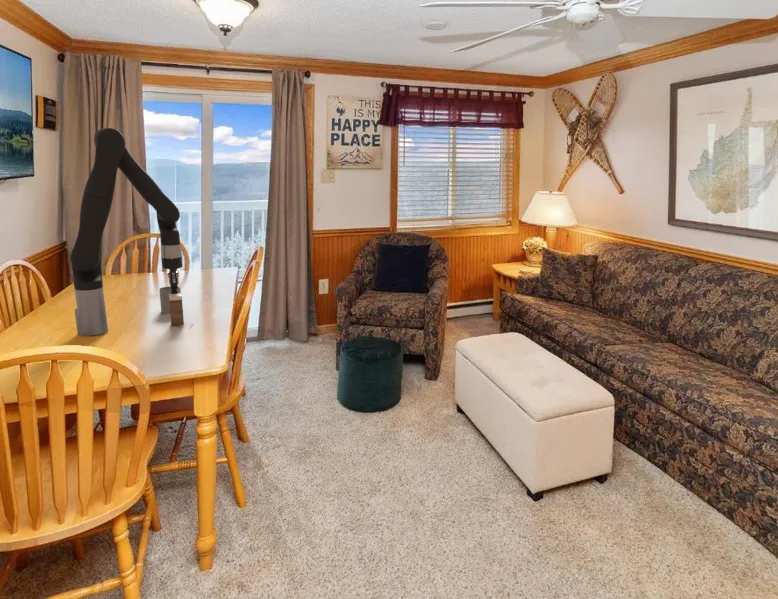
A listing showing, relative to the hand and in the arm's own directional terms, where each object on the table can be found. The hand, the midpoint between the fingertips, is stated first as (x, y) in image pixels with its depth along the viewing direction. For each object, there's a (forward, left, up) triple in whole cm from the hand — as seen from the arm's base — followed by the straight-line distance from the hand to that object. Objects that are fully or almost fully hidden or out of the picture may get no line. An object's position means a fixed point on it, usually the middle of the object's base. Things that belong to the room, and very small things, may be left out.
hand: (174, 298), depth 215 cm
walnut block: (+3, -4, -10) cm, 11 cm away
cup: (-9, +14, -10) cm, 19 cm away
